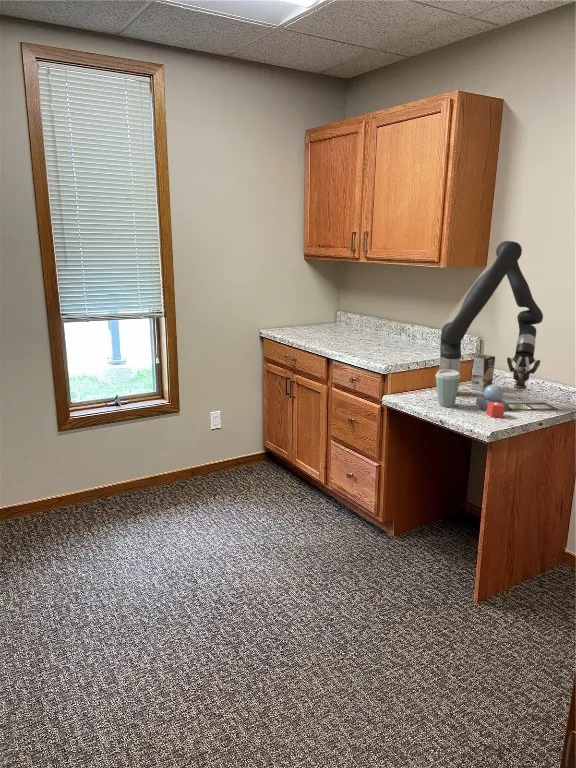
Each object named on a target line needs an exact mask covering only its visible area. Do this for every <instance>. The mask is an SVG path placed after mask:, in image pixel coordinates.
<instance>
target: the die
mask: <svg viewBox="0 0 576 768" xmlns="http://www.w3.org/2000/svg"><path fill="white" fill-rule="evenodd" d="M504 408H505V406H504V405H503V404H501V403H500V402H488V403H487V411H486V415H487V416H488V417H490V418H491V417H495V418H496V417H503V418H504V415H505V411H504ZM495 418H494V419H495ZM496 419H497V418H496Z"/></svg>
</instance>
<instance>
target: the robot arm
mask: <svg viewBox="0 0 576 768" xmlns="http://www.w3.org/2000/svg"><path fill="white" fill-rule="evenodd" d="M522 252H523V249H522V246H521V244H520V243H518V242H516V241H513V240H506V241H502V242H500V243H499V244H498V245H497V247H496V249H495V255H496V258H495V260H494V262H493V263H492V265H491V266H490V267H489V268H488V269H487V271H485V272H484V273H483V274H482V275H481V276H480V277H479V278H478V279H477V280H476V281H475V282H474V284H473V285H472V287H471V288H470V289H469V291H468V292H467V294H466V296H465V298H464V300H463V303H462V305H461V308H460V310H459V311H458V313H457V315H456V316H455V317H454V319H453V320H452V321H451V322H450V321H449V322H446V323H445V324H444V325H443V326H442V329H441V333H440V345H439V347H440V348H439V349H440V352H439V353H440V356H439V366H438V371H439V370H455V371H458V372H459V373H460V371H461V359H462V349H461V348H462V345H461V344H462V340H463V339H464V337H465V335H466V333H467V332H468V330H469V328H470V326H471V325H472V323H473V321H474V320H475V319H476V317H477V316H478V315H479V314H480V313H481V311H483V308H484V307H485V306H486V305H487V303H488V302H489V300H490V299H491V298H492V296H493V295H494V293H495V292H496V290H497V289H498V287H499V286H500V284H501V283H502V281H503V279H504V278H505V276H506V277H507V280H508V282H509V285H510V287H511V291H512V295H513V298H514V300H515V303H516V306H517V307H519V308H526V310H522V311H520V312H519V313H518V314H517V323H518V324H517V325H518V329H519V330H518V331H519V333H518V338H517V341H516V347H515V354H514V356H513V357H510V356H509V357H507V358H506V363H507V365H508V369H509V371H510V372H513V374H512V375H513V376H512V378H513V379H514V381H516V379H517V372H518V368H519V367H521V366H523V367H525V368H526V376H525V382H527V381H529V380H530V379H529V378H530V375H531V374H535V373H536V372H537V370H538V368H539V367H540V365H541V360H540V359H535V357H534V356H535V349H536V338H537V337H536V336H537V328H536V326H534V325H538V324H540V323H542V322H543V321H544V314H543V311H542V310H541V309H540V307H539V306H538V305H537V303H536V301H535V300H534V298H533V296H532V292H531V289H530V286H529V283H528V281H527V279H526V277H525V276H524V275H523V272H522V270H521V267H520V265H519V262H518V261H519V259H520V258H521V256H522V254H523V253H522ZM513 362H514V363H515V366H513ZM533 363H534V364H533ZM532 364H533V367H532V368H531V367H530V366H531V365H532ZM435 385H436V386H435V388H436V389H435V392H436V393H437V383H436V384H435ZM458 392H459V390H458V391H457V395H458Z"/></svg>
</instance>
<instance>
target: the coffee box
mask: <svg viewBox="0 0 576 768" xmlns="http://www.w3.org/2000/svg"><path fill="white" fill-rule="evenodd" d="M473 358H474V359H473V365H472V366H473V368H472V378H471V388H470V389H471V390H474V389H476V391H479V390H480V392H484V390H485V388H486V387H487V386H489V385H493V381H494V370H495V365H496V364H495V363H496V356H493V355H487V354H483V355H477V356H476V355H475V356H474V357H473Z"/></svg>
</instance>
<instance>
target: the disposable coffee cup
mask: <svg viewBox="0 0 576 768" xmlns="http://www.w3.org/2000/svg"><path fill="white" fill-rule="evenodd" d="M461 376H462V375H461V373H460V372H458V371H455V370H439V369H438V370H437V371H436V374H435V382H436V384H437V392H436V393H437V401H438V405H439V406H440V407H443V408H451V407H452V408H453V407H454V406H455V404H456V400H457V399H456V398H457V395H458V394H457V391H458V392H459V386H460V380H461V378H462V377H461Z"/></svg>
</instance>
